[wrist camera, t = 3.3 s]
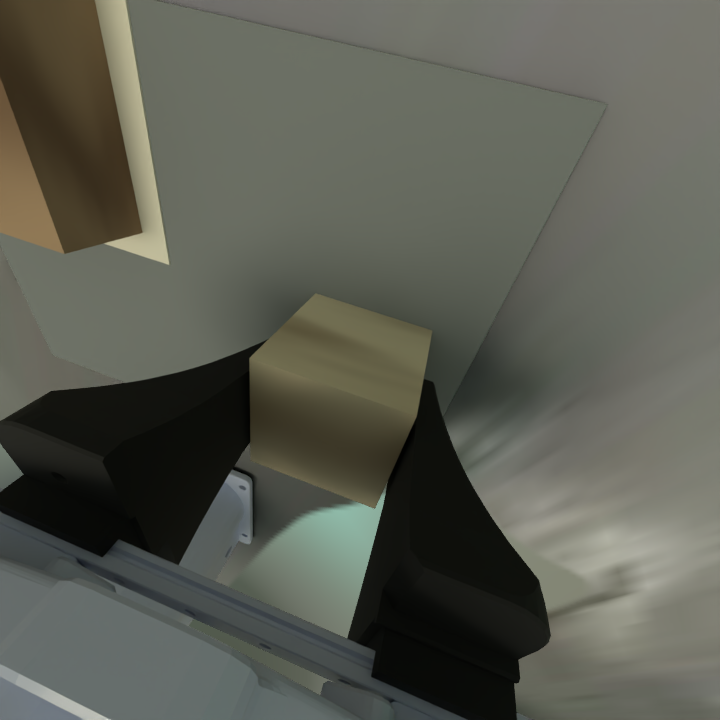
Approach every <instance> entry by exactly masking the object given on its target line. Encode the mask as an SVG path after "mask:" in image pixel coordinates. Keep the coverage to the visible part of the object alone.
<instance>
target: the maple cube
mask: <svg viewBox="0 0 720 720" xmlns="http://www.w3.org/2000/svg"><path fill="white" fill-rule="evenodd" d="M431 336H432V330H429V329H426V328H423V327H420V326H417V325H413V324H410V323H407V322H404V321H401V320H398V319H395V318H392V317H388V316H385V315H382V314H379V313H376V312H373V311H370V310H366V309H363V308H360V307H357V306H354V305H351V304H348V303H344V302H341V301H338V300H335V299H332V298H329V297H326V296H323V295H319V294H316V293H315V294H314V295H313V296H312V297H311V298H310V299H309V300H308V301H307V302H306V303H305V304H304V305H303V306H302V307H301V308H300V309H299V310H298V311H297V312H296V313H295V314H294V315H293V316H292V317H291V318H290V319H289V320H288V321H287V322H286V323H285V324H284V325H283V326H282V327H281V328H280V329H279V330H278V331H277V332H276V333H274V334H273V335H272V336H271V337H270V338H269V339H268V340H267V341H266V342H265V343H264V344H263V345H262V346H261V347H260V348H259V349H258V350H257V351H256V352H255V353H254V354H253V355H252V356H251V357H250V358H249V365H250V448H251V461H253V462H255V463H258V464H260V465H263V466H266V467H268V468H271V469H273V470H276V471H278V472H281V473H284V474H286V475H289V476H291V477H294V478H297V479H299V480H302V481H304V482H307V483H310V484H312V485H315V486H317V487H320V488H322V489H325V490H328V491H330V492H333V493H335V494H338V495H341V496H343V497H346V498H348V499H351V500H354V501H356V502H359V503H361V504H364V505H367V506H369V507H372V508H376V505H377V503H378V501H379V499H380V497H381V494H382V492H383V490H384V488H385V485H386V483H387V481H388V479H389V477H390V474H391V472H392V470H393V468H394V466H395V463H396V461H397V459H398V457H399V454H400V452H401V450H402V448H403V446H404V443H405V441H406V439H407V437H408V435H409V432H410V430H411V428H412V426H413V423H414V421H415V419H416V417H417V412H418V406H419V401H420V396H421V390H422V385H423V379H424V374H425V369H426V363H427V358H428V352H429V347H430V342H431Z"/></svg>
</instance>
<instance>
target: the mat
mask: <svg viewBox="0 0 720 720" xmlns="http://www.w3.org/2000/svg"><path fill="white" fill-rule="evenodd" d="M95 4H96V9H97V14H98V19H99V23H100V28H101V33H102V38H103V43H104V48H105V53H106V57H107V62H108V67H109V72H110V77H111V82H112V87H113V91H114V96H115V101H116V106H117V111H118V116H119V121H120V125H121V130H122V135H123V140H124V145H125V150H126V154H127V159H128V164H129V169H130V174H131V179H132V184H133V188H134V193H135V198H136V203H137V208H138V213H139V218H140V222H141V227H142V232H143V233H141V234H137V235H133V236H130V237H126V238H122V239H119V240H115V241H111V242H107V243H104V244H100V245H96V246H93V247H89V248H85V249H81V250H78V251H74V252H70V253H67V254H63V253H60V252H57V251H54V250H51V249H48V248H45V247H42V246H39V245H36V244H33V243H30V242H27V241H24V240H21V239H18V238H15V237H12V236H9V235H6V234H3V233H0V247H1V249H2V251H3V253H4V255H5V257H6V259H7V261H8V263H9V265H10V267H11V270H12V272H13V274H14V276H15V278H16V280H17V282H18V284H19V286H20V288H21V290H22V292H23V295H24V297H25V299H26V301H27V303H28V305H29V307H30V309H31V311H32V313H33V315H34V317H35V320H36V322H37V324H38V326H39V328H40V330H41V332H42V334H43V336H44V338H45V340H46V342H47V345H48V347H49V349H50V351H51V353H52V355H53V356H56V357H58V358H61V359H64V360H66V361H69V362H72V363H74V364H77V365H80V366H82V367H85V368H88V369H90V370H93V371H96V372H98V373H101V374H104V375H106V376H109V377H112V378H114V379H117V380H120V381H122V382H125V383H128V382H134V381H140V380H145V379H150V378H155V377H159V376H164V375H168V374H173V373H177V372H181V371H185V370H188V369H192V368H195V367H199V366H202V365H205V364H208V363H211V362H214V361H217V360H219V359H222V358H224V357H227V356H230V355H232V354H235V353H238V352H240V351H242V350H245V349H247V348H249V347H252V346H254V345H256V344H259V343H261V342H263V341H265V340H267V339H269V338H270V337H271V336H272V335H273V334H274V333H276V332H277V331H278V330H279V329H280V328H281V327H282V326H283V325H284V324H285V323H286V322H287V321H288V320H289V319H290V318H291V317H292V316H293V315H294V314H295V313H296V312H297V311H298V310H299V309H300V308H301V307H302V306H303V305H304V304H305V303H306V302H307V301H308V300H309V299H310V298H311V297H312V296H313V295H314V294H315V293H316V294H319V295H323V296H326V297H329V298H332V299H335V300H338V301H341V302H344V303H348V304H351V305H354V306H357V307H360V308H363V309H366V310H370V311H373V312H376V313H379V314H382V315H385V316H388V317H392V318H395V319H398V320H401V321H404V322H407V323H410V324H413V325H417V326H420V327H423V328H426V329H429V330H432V336H431V342H430V347H429V352H428V358H427V363H426V369H425V374H424V379H426V380H429V381H432V382H433V383H434V385H435V389H436V394H437V398H438V402H439V406H440V410H441V413H442V416H444V415H445V413H446V411H447V409H448V407H449V405H450V403H451V401H452V399H453V397H454V396H455V394H456V392H457V390H458V388H459V386H460V384H461V382H462V380H463V378H464V377H465V375H466V373H467V371H468V369H469V367H470V365H471V363H472V361H473V359H474V358H475V356H476V354H477V352H478V350H479V348H480V346H481V344H482V342H483V340H484V339H485V337H486V335H487V333H488V331H489V329H490V327H491V325H492V323H493V321H494V320H495V318H496V316H497V314H498V312H499V310H500V308H501V306H502V304H503V302H504V301H505V299H506V297H507V295H508V293H509V291H510V289H511V287H512V285H513V283H514V282H515V280H516V278H517V276H518V274H519V272H520V270H521V268H522V266H523V264H524V263H525V261H526V259H527V257H528V255H529V253H530V251H531V249H532V247H533V245H534V244H535V242H536V240H537V238H538V236H539V234H540V232H541V230H542V228H543V226H544V225H545V223H546V221H547V219H548V217H549V215H550V213H551V211H552V209H553V207H554V206H555V204H556V202H557V200H558V198H559V196H560V194H561V192H562V190H563V188H564V187H565V185H566V183H567V181H568V179H569V177H570V175H571V173H572V171H573V169H574V168H575V166H576V164H577V162H578V160H579V158H580V156H581V154H582V152H583V150H584V149H585V147H586V145H587V143H588V141H589V139H590V137H591V135H592V133H593V131H594V130H595V128H596V126H597V124H598V122H599V120H600V118H601V116H602V114H603V112H604V111H605V109H606V107H607V105H608V104H605V103H601V102H596V101H592V100H588V99H583V98H579V97H575V96H570V95H566V94H561V93H557V92H553V91H548V90H544V89H540V88H535V87H531V86H527V85H522V84H518V83H514V82H509V81H505V80H500V79H496V78H492V77H487V76H483V75H479V74H474V73H470V72H466V71H461V70H457V69H452V68H448V67H444V66H439V65H435V64H431V63H426V62H422V61H418V60H413V59H409V58H405V57H400V56H396V55H391V54H387V53H383V52H378V51H374V50H370V49H365V48H361V47H357V46H352V45H348V44H343V43H339V42H335V41H330V40H326V39H322V38H317V37H313V36H309V35H304V34H300V33H296V32H291V31H287V30H282V29H278V28H274V27H269V26H265V25H261V24H256V23H252V22H248V21H243V20H239V19H235V18H230V17H226V16H221V15H217V14H213V13H208V12H204V11H200V10H195V9H191V8H187V7H182V6H178V5H173V4H169V3H165V2H160V1H156V0H95Z"/></svg>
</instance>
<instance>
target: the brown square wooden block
mask: <svg viewBox="0 0 720 720" xmlns="http://www.w3.org/2000/svg"><path fill="white" fill-rule="evenodd" d="M0 233H3V234H6V235H9V236H12V237H15V238H18V239H21V240H24V241H27V242H30V243H33V244H36V245H39V246H42V247H45V248H48V249H51V250H54V251H57V252H60V253H63V254H67V253H70V252H74V251H78V250H81V249H85V248H89V247H93V246H96V245H100V244H104V243H107V242H111V241H115V240H119V239H122V238H126V237H130V236H133V235H137V234H141V233H143V232H142V227H141V222H140V218H139V213H138V208H137V203H136V198H135V193H134V188H133V184H132V179H131V174H130V169H129V164H128V159H127V154H126V150H125V145H124V140H123V135H122V130H121V125H120V121H119V116H118V111H117V106H116V101H115V96H114V91H113V87H112V82H111V77H110V72H109V67H108V62H107V57H106V53H105V48H104V43H103V38H102V33H101V28H100V23H99V19H98V14H97V9H96V4H95V0H0Z"/></svg>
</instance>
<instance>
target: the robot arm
mask: <svg viewBox="0 0 720 720" xmlns="http://www.w3.org/2000/svg"><path fill="white" fill-rule="evenodd" d="M267 340H268V339H267ZM267 340H265V341H263V342H261V343H259V344H256V345H254V346H252V347H249V348H247V349H245V350H242V351H240V352H238V353H235V354H232V355H230V356H227V357H224V358H222V359H219V360H217V361H214V362H211V363H208V364H205V365H202V366H199V367H195V368H192V369H188V370H185V371H181V372H177V373H173V374H168V375H164V376H159V377H155V378H150V379H145V380H140V381H134V382H128V383H122V384H115V385H108V386H100V387H90V388H80V389H69V390H58V391H50V392H49V393H47V394H45V395H44V396H42V397H40V398H39V399H37V400H35V401H34V402H32V403H30V404H28V405H27V406H25V407H23V408H22V409H20V410H18V411H17V412H15V413H13V414H12V415H10V416H8V417H7V418H5V419H3V420H1V421H0V443H1V445H2V446H3V448H4V449H5V450H6V452H7V453H8V454H9V456H10V457H11V458H12V459H13V461H14V462H15V463H16V465H17V466H18V467H19V469H20V470H21V471H22V473H23V474H24V475H22V476H21V477H20V478H19V479H17V480H16V481H14V482H13V483H12V484H11V485H9V486H8V487H6V488H5V489H2V488H0V720H533V719H531V718H528V717H526V716H524V715H522V714H519V713H517V712H516V701H515V690H514V683H519V680H520V672H519V662H518V659H520V658H522V657H525V656H527V655H529V654H531V653H534V652H536V651H538V650H540V649H541V648H543V647H544V646H545V645H546V644H547V643H548V642H549V639H550V636H551V634H550V628H549V623H548V617H547V611H546V606H545V602H544V598H543V594H542V591H541V587H540V583H539V580H538V579H537V577H536V576H535V575H534V573H533V572H532V571H531V570H530V568H529V567H528V566H527V565H526V563H525V562H524V561H523V560H522V558H521V557H520V556H519V554H518V553H517V552H516V551H515V549H514V548H513V547H512V546H511V544H510V543H509V542H508V540H507V539H506V537H505V536H504V535H503V533H502V532H501V530H500V529H499V527H498V526H497V525H496V523H495V522H494V520H493V519H492V517H491V516H490V514H489V513H488V511H487V509H486V508H485V506H484V505H483V503H482V501H481V500H480V498H479V497H478V495H477V493H476V492H475V490H474V488H473V486H472V484H471V483H470V481H469V479H468V477H467V475H466V473H465V471H464V469H463V467H462V465H461V463H460V461H459V459H458V456H457V454H456V452H455V449H454V447H453V445H452V442H451V440H450V437H449V434H448V431H447V429H446V426H445V422H444V419H443V416H442V413H441V410H440V406H439V402H438V398H437V394H436V389H435V385H434V383H433V382H432V381H429V380H426V379H423V385H422V390H421V396H420V401H419V406H418V412H417V417H416V419H415V421H414V423H413V426H412V428H411V430H410V432H409V435H408V437H407V439H406V441H405V443H404V446H403V448H402V450H401V452H400V454H399V457H398V459H397V461H396V463H395V466H394V468H393V470H392V472H391V474H390V477H389V479H388V483H387V489H386V495H385V500H384V505H383V509H382V513H381V517H380V521H379V524H378V529H377V532H376V536H375V540H374V544H373V548H372V551H371V555H370V559H369V562H368V566H367V570H366V573H365V577H364V581H363V584H362V588H361V592H360V595H359V599H358V603H357V606H356V610H355V613H354V617H353V620H352V624H351V627H350V631H349V634H348V638H344V637H342V636H340V635H337V634H335V633H333V632H331V631H328V630H326V629H324V628H321V627H319V626H317V625H314V624H312V623H310V622H307V621H305V620H303V619H301V618H298V617H296V616H294V615H292V614H289V613H287V612H285V611H282V610H280V609H278V608H275V607H273V606H271V605H268V604H266V603H264V602H261V601H259V600H257V599H255V598H252V597H250V596H248V595H245V594H243V593H241V592H238V591H236V590H234V589H232V588H229V587H227V586H225V585H222V584H220V583H218V582H216V579H217V577H218V575H219V574H220V572H221V570H222V569H223V567H224V565H225V563H226V562H227V560H228V558H229V556H230V555H231V553H232V551H233V550H234V548H235V546H236V544H237V543H238V541H240V542H243V543H245V544H250V543H251V541H252V539H253V508H252V479H251V478H250V477H249V476H247V475H245V474H242V473H240V472H237V471H235V470H232V469H233V467H234V466H235V464H236V462H237V461H238V459H239V458H240V456H241V454H242V453H243V451H244V450H245V448H246V447H247V446H248V444H249V443H250V365H249V358H250V357H251V356H252V355H253V354H254V353H255V352H256V351H257V350H258V349H259V348H260V347H261V346H262V345H263V344H264V343H265V342H266V341H267ZM193 619H196V620H198V621H200V622H202V623H205V624H207V625H209V626H211V627H213V628H216V629H218V630H220V631H223V632H225V633H227V634H229V635H231V636H233V637H236V638H238V639H240V640H242V641H244V642H247V643H249V644H251V645H253V646H256V647H258V648H260V649H262V650H265V651H267V652H269V653H271V654H274V655H275V656H278V657H280V658H282V659H284V660H287V661H289V662H291V663H293V664H295V665H298V666H300V667H302V668H304V669H306V670H309V671H311V672H313V673H315V674H318V675H320V676H322V677H324V678H327V679H329V680H331V681H333V682H331V681H327V682H325V683H324V684H323V687H322V691H321V695H319V694H317V693H315V692H313V691H311V690H309V689H308V688H306V687H304V686H302V685H300V684H298V683H296V682H295V681H293V680H291V679H289V678H287V677H285V676H284V675H282V674H280V673H278V672H276V671H274V670H273V669H271V668H269V667H267V666H265V665H263V664H262V663H260V662H258V661H256V660H254V659H252V658H250V657H248V656H246V655H244V654H242V653H241V652H239V651H237V650H235V649H233V648H232V647H230V646H228V645H226V644H224V643H222V642H220V641H218V640H216V639H215V638H213V637H211V636H209V635H207V634H204V633H202V632H200V631H198V630H195V629H193V628H191V627H189V626H188V625H189V624H190V623H191V621H192V620H193Z"/></svg>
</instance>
